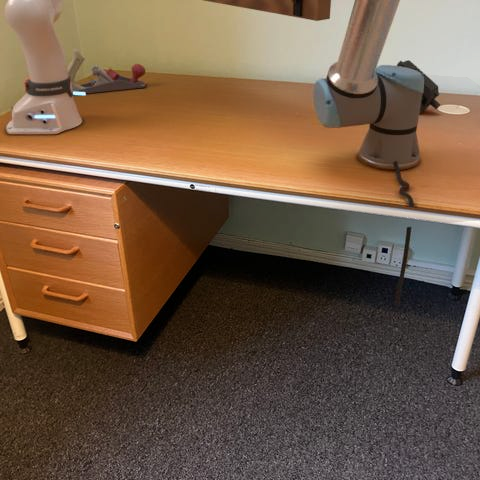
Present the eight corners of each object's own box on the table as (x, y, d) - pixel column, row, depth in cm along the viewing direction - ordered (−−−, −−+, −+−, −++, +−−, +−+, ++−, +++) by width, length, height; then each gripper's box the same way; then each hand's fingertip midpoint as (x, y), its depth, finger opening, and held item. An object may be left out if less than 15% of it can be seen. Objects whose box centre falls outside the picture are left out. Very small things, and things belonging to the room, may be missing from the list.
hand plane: (62, 90, 197) (53, 48, 189) (145, 82, 205) (140, 41, 197) (62, 96, 191) (54, 53, 184) (148, 87, 199) (143, 45, 191)
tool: (378, 91, 179) (405, 54, 169) (421, 128, 175) (451, 93, 164) (370, 95, 176) (396, 58, 165) (413, 134, 171) (443, 98, 161)
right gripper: (322, -87, 140) (317, 9, 152) (271, -85, 131) (270, 16, 143) (344, -87, 135) (337, 12, 147) (293, -86, 126) (290, 20, 138)
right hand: (304, 14), depth 145 cm, fingers closed on bar, 5 cm apart
